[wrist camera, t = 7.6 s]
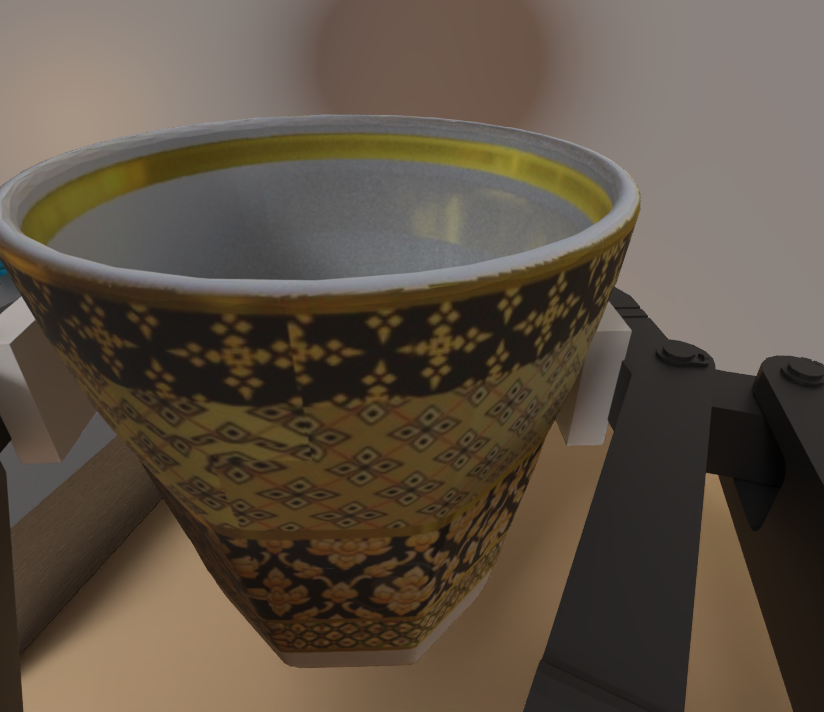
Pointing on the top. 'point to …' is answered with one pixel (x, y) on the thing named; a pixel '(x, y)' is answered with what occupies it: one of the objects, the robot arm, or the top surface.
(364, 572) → the ceramic cup
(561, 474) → the top surface
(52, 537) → the stand
